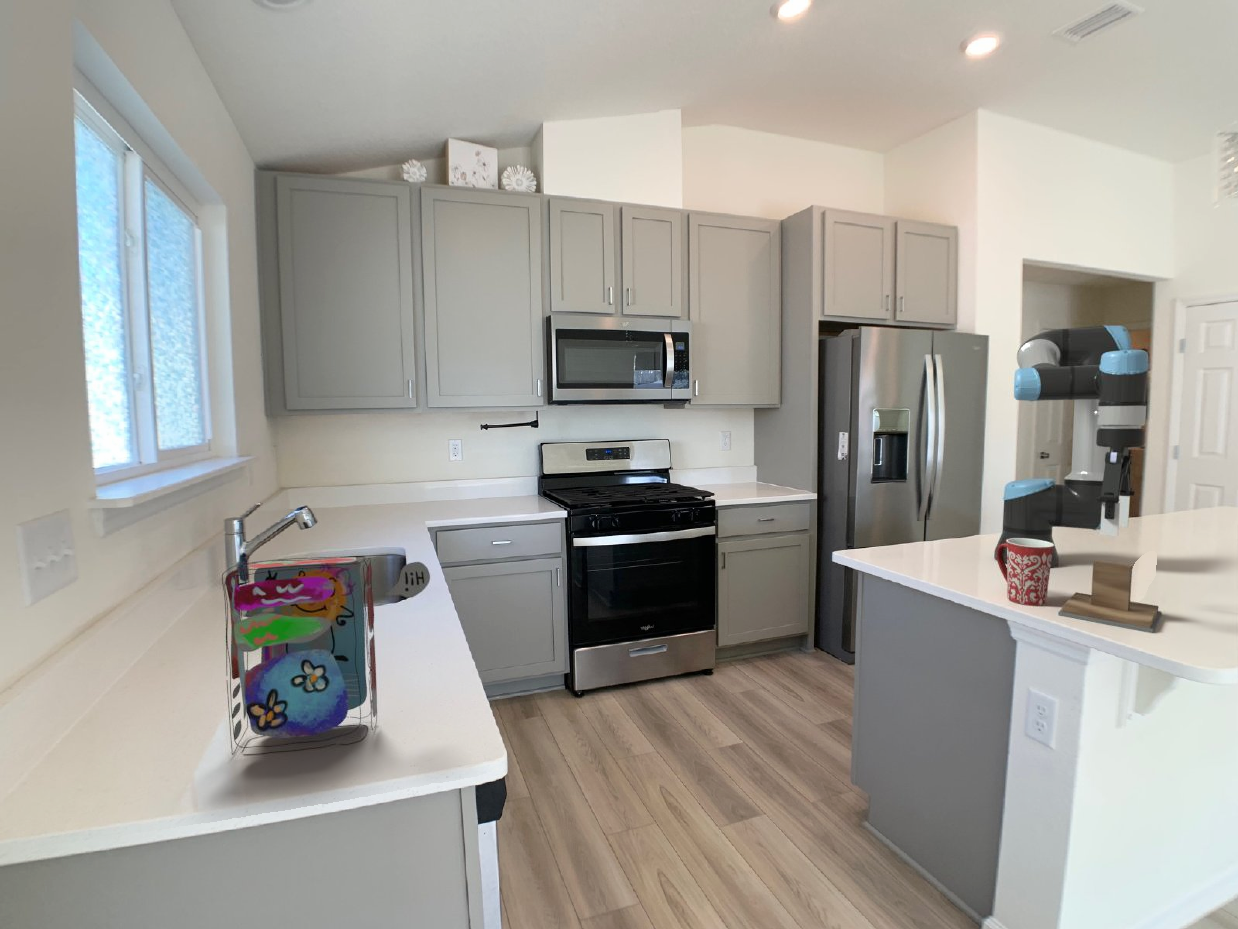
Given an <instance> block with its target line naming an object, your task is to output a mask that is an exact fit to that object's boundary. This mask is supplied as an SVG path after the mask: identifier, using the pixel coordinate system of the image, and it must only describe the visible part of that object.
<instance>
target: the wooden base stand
mask: <svg viewBox="0 0 1238 929" xmlns="http://www.w3.org/2000/svg"><path fill="white" fill-rule="evenodd" d="M1132 577H1133V564H1126V563H1117V562H1111V561H1103V560H1097V559H1095V560H1094V562H1092V578H1091V580H1092V582H1091V594H1088V593H1083V592H1075V593H1074V594H1073V595H1072V596H1071V597H1069V599H1068V600H1067V601H1066V602H1065V603H1064V604H1063V605H1061V609H1062V612H1063V613H1069V614H1074V615H1079V616H1085V617H1090V618H1095V619H1101V620H1106V621H1111V622H1117V623H1122V624H1127V625H1133V626H1138V627H1144V628H1149V629H1150V628H1151V626H1152V623H1153V621H1154V619H1155V617H1156V615H1157V613H1158V611H1159V605H1155V604H1154V605H1153V604H1150V603H1149V604H1147V603H1142V602H1136V601H1131V597H1132V594H1131V593H1132Z"/></svg>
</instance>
